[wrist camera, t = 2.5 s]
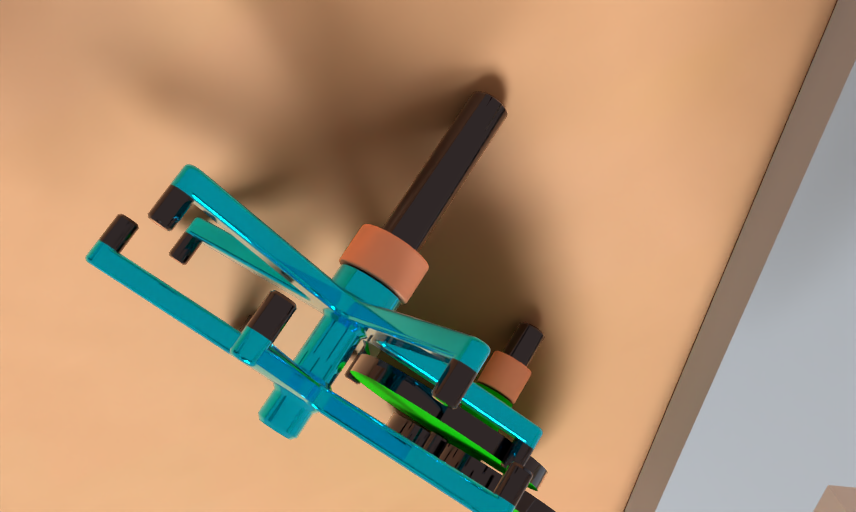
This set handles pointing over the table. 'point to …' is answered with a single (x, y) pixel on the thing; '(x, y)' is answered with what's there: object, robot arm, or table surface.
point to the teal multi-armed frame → (365, 328)
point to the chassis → (777, 326)
